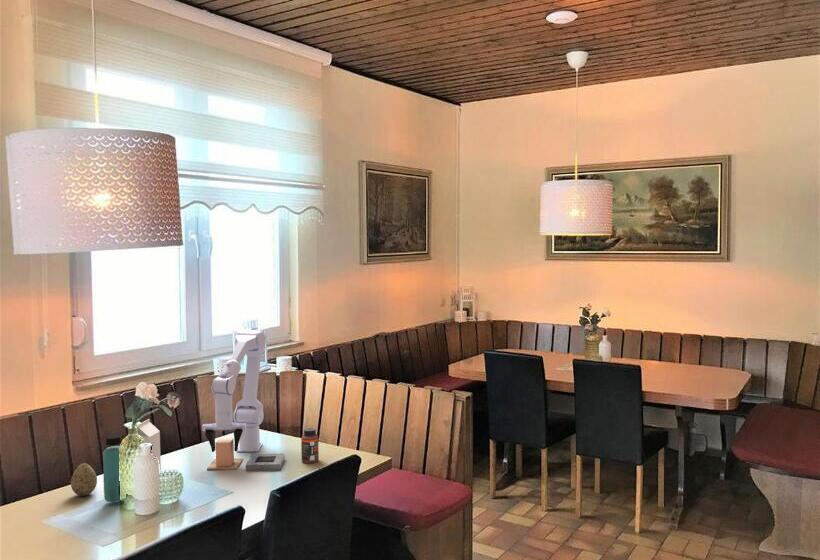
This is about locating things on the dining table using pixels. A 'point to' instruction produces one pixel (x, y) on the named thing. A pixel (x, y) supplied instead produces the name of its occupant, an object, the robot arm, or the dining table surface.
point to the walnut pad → (232, 467)
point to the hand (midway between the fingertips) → (224, 450)
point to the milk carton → (151, 437)
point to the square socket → (265, 462)
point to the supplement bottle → (309, 446)
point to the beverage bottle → (111, 469)
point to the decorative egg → (83, 480)
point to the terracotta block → (225, 452)
